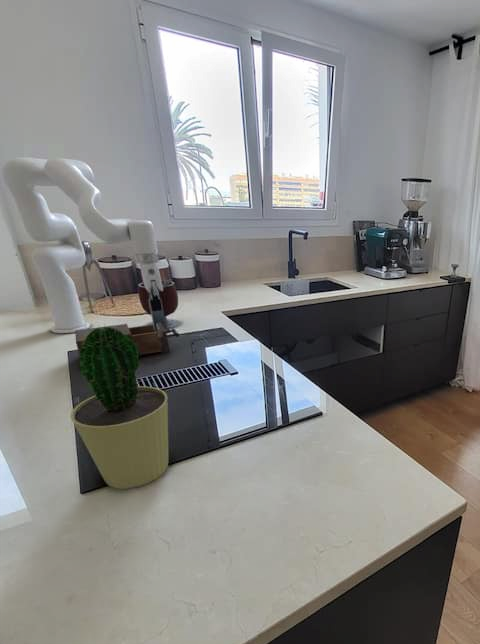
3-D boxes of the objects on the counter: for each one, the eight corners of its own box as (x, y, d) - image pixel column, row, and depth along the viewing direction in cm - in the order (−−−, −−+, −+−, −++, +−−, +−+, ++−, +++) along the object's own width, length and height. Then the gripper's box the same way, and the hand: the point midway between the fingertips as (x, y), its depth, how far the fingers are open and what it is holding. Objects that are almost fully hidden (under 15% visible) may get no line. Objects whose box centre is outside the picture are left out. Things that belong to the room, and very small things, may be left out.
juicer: (115, 306, 186) (100, 240, 174) (91, 312, 176) (74, 243, 164) (101, 304, 189) (85, 239, 177) (78, 309, 180) (59, 241, 168)
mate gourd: (137, 327, 159) (126, 277, 151) (164, 318, 171) (156, 272, 163) (166, 332, 154) (157, 281, 146) (192, 323, 165) (185, 275, 157)
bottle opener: (151, 331, 147) (144, 294, 142) (167, 329, 150) (161, 293, 145) (153, 335, 144) (146, 297, 138) (170, 332, 147) (163, 295, 141)
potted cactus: (120, 509, 68) (73, 347, 56) (75, 476, 75) (26, 327, 63) (195, 463, 80) (171, 322, 68) (151, 439, 87) (122, 308, 75)
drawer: (176, 339, 144) (172, 320, 141) (183, 349, 136) (179, 329, 133) (121, 348, 135) (116, 328, 132) (124, 359, 126) (119, 337, 123)
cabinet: (132, 348, 137) (126, 323, 134) (137, 360, 128) (131, 333, 124) (82, 356, 130) (75, 330, 126) (83, 369, 120) (75, 341, 117)
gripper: (163, 260, 132) (172, 313, 140) (155, 254, 144) (163, 303, 151) (138, 262, 128) (148, 316, 136) (132, 255, 140) (142, 306, 148)
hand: (156, 309), depth 143 cm, fingers closed on bottle opener
